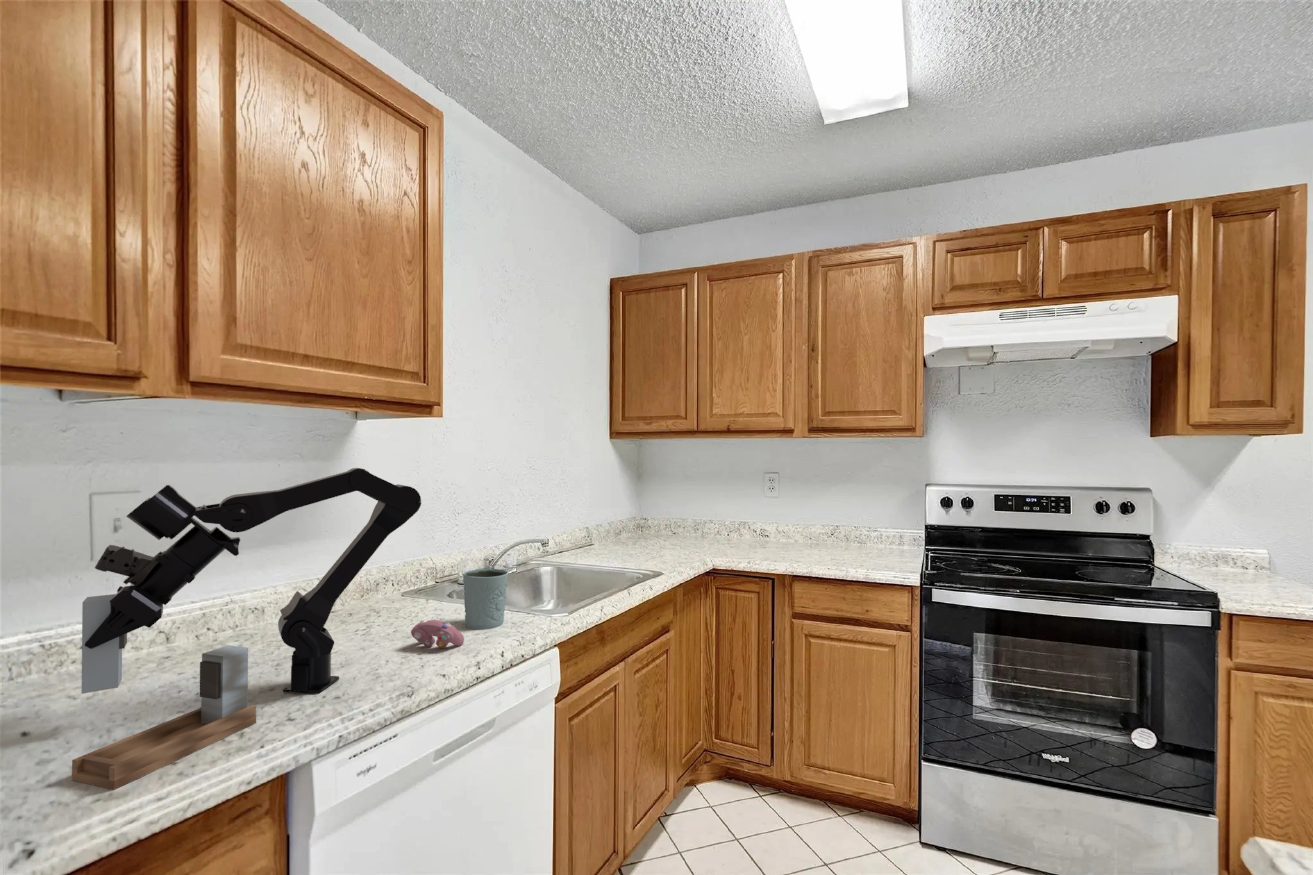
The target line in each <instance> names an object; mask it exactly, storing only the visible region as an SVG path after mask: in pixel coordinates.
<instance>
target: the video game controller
mask: <svg viewBox="0 0 1313 875" xmlns="http://www.w3.org/2000/svg"><path fill="white" fill-rule="evenodd" d="M410 633H411V636H412V638H414V639H415V640H416V641H417V642H418V643H421V644H423V646H425V647H426V648H432V647H433V645H434V644H435V645H436V647H438V648H439V649H446V648H447V646H448V644H449V643H451V645H454V646H457V647H461V646H462V645H464V642H465V637H464V635H463V634H462V633H461V632H460V631H459V630H458V629H457V628H456V626H454V625H452V624H451V623H450V622H444V621H441V620H438V619H430V620H426V621H424V620H421V621H419V622H418V623H417V624H416V625H414V627H413V628H412V629H411V631H410ZM435 637H436V638H437V639H436V640H435Z"/></svg>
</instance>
